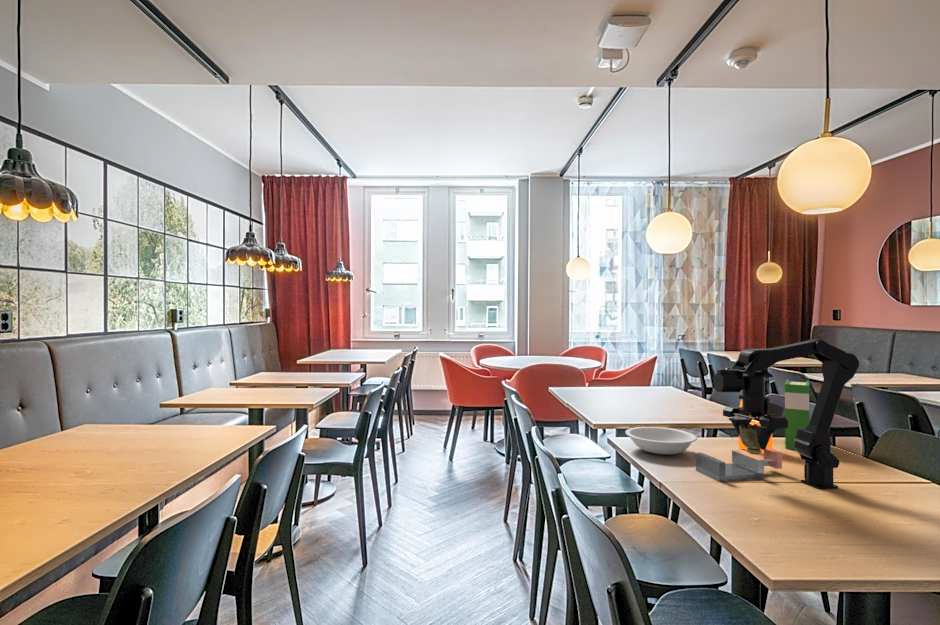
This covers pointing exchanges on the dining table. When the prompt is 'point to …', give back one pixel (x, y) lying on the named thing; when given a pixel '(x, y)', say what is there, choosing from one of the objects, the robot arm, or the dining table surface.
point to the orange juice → (758, 425)
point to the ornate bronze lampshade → (750, 438)
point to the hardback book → (796, 410)
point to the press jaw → (758, 460)
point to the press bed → (734, 473)
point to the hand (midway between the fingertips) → (753, 446)
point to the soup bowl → (661, 439)
